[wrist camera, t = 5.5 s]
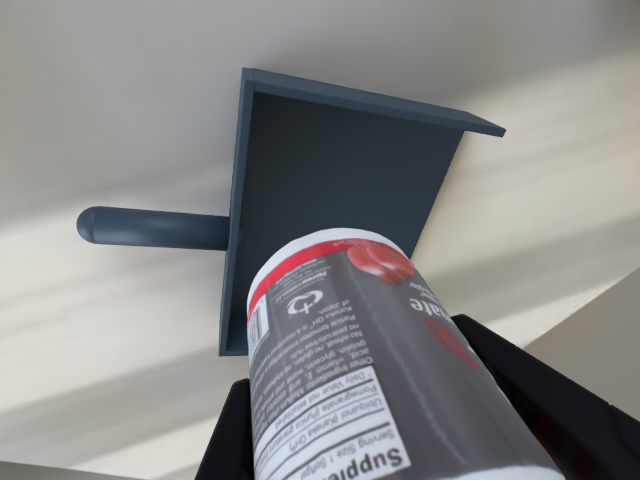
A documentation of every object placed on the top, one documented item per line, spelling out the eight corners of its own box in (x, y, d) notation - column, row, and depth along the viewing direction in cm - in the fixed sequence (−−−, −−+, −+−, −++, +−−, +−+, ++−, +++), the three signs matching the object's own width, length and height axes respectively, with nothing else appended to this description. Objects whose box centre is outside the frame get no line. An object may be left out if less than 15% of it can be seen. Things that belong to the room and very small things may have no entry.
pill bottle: (438, 277, 12) (848, 814, 4) (328, 366, 13) (470, 890, 5) (333, 184, 9) (996, 1345, 1) (208, 309, 11) (142, 1212, 3)
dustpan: (468, 111, 20) (506, 129, 17) (382, 316, 28) (399, 351, 25) (66, 30, 14) (26, 35, 11) (106, 316, 22) (88, 360, 19)
